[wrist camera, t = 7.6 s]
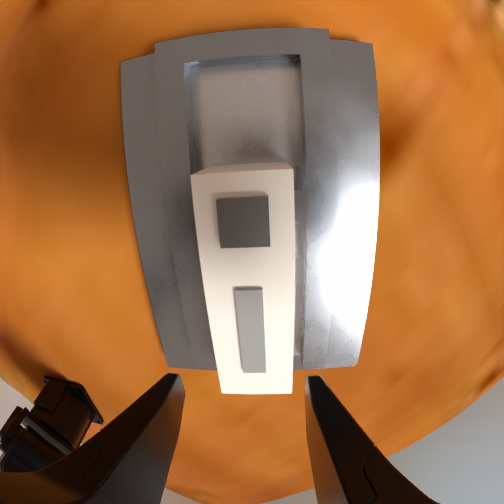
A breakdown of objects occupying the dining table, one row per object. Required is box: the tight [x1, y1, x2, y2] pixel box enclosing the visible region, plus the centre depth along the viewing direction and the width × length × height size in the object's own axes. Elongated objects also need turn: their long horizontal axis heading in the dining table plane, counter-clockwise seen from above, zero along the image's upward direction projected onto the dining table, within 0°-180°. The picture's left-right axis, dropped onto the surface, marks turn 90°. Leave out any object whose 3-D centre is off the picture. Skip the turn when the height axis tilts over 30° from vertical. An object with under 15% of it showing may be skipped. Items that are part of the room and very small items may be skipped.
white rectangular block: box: [190, 162, 295, 394], centre depth 15 cm, size 12×4×4 cm, turn 3°
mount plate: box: [121, 28, 380, 370], centre depth 16 cm, size 21×14×3 cm, turn 3°
